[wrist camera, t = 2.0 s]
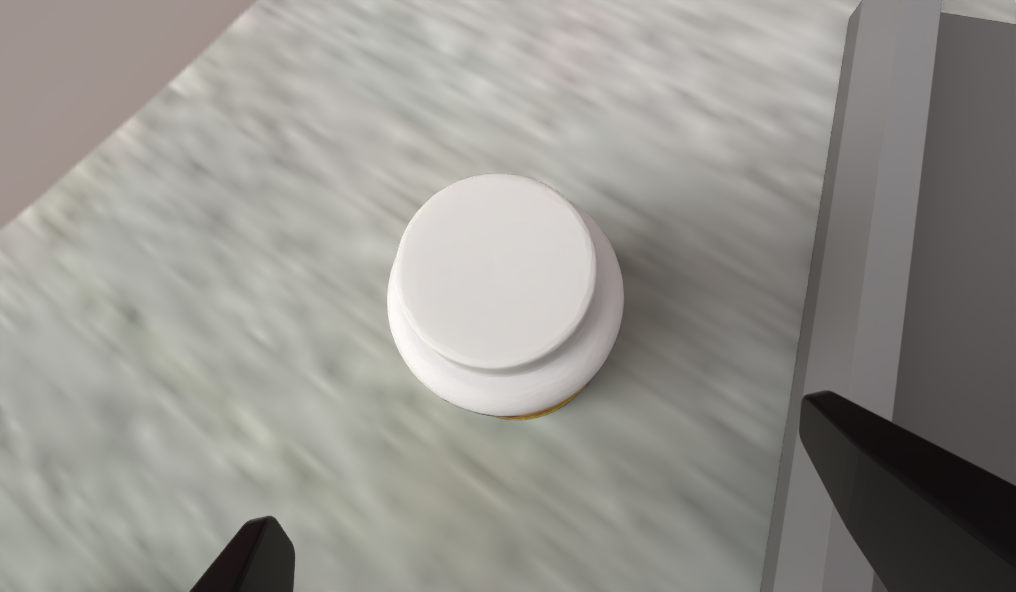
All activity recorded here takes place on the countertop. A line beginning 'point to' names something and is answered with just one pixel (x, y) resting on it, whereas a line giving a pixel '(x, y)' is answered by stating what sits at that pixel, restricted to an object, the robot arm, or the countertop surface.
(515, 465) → the countertop surface
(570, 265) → the supplement bottle
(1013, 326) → the cable duct
